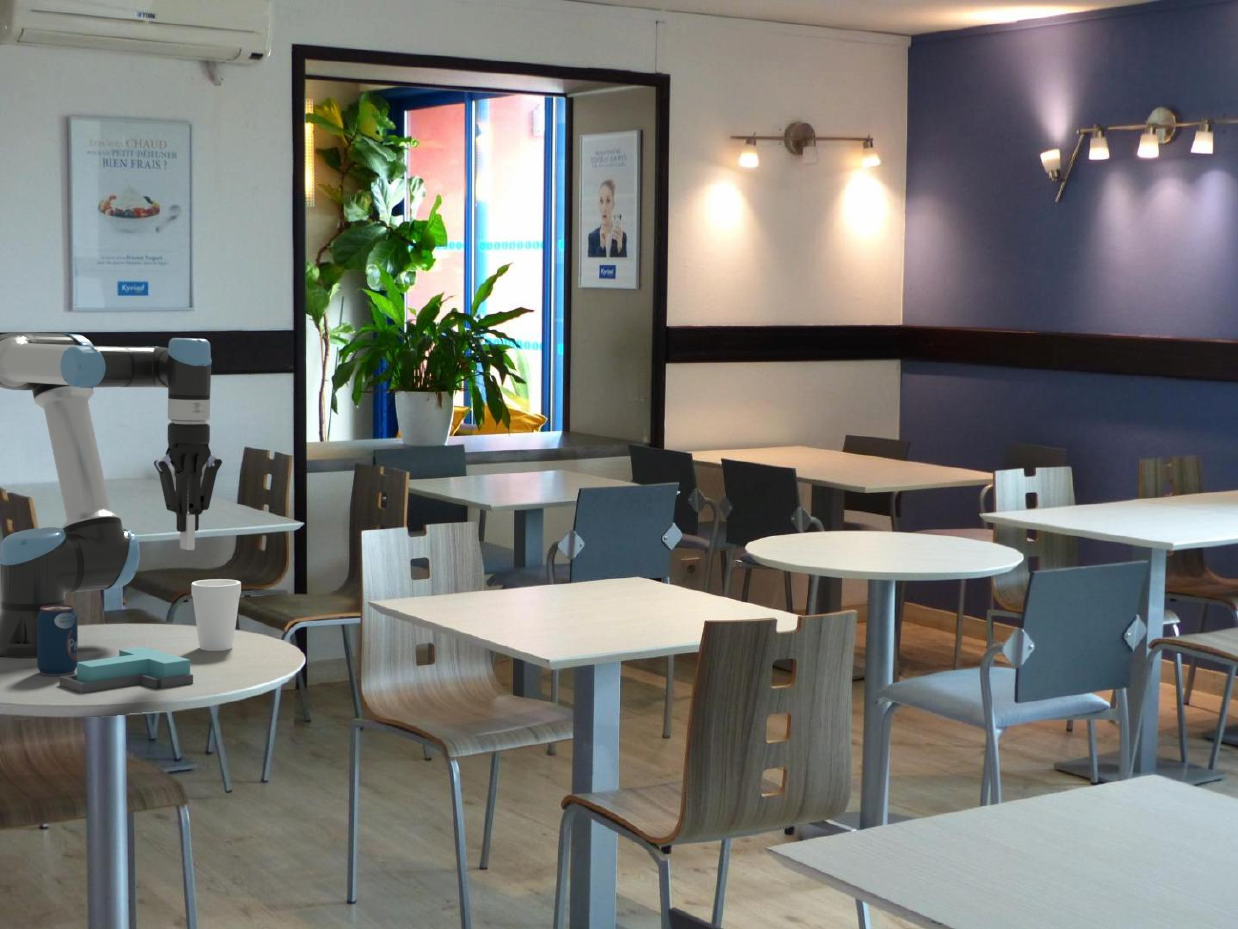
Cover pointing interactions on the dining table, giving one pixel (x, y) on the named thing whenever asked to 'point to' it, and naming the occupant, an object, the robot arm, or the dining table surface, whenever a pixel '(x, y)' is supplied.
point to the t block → (133, 665)
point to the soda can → (57, 640)
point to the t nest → (123, 682)
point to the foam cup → (216, 612)
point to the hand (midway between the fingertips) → (187, 548)
